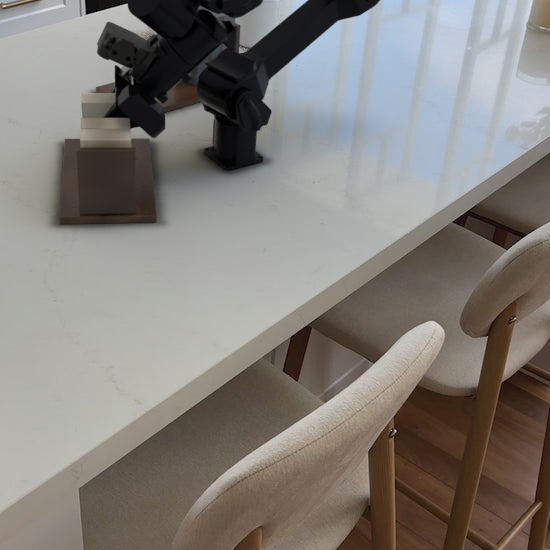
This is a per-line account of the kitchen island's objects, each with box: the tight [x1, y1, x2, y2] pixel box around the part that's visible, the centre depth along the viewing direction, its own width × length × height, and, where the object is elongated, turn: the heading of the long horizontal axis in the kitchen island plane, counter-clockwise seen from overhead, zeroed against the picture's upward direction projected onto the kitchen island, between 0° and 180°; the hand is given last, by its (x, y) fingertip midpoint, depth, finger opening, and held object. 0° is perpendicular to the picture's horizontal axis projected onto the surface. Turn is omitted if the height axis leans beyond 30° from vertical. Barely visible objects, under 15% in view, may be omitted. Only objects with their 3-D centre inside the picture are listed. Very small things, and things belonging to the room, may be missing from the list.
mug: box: [235, 0, 282, 49], centre depth 164 cm, size 12×8×10 cm
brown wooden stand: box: [58, 117, 158, 225], centre depth 117 cm, size 12×21×11 cm, turn 9°
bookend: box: [95, 6, 240, 113], centre depth 142 cm, size 12×22×12 cm, turn 133°
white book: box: [80, 92, 115, 118], centre depth 118 cm, size 6×3×10 cm, turn 99°
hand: (95, 128), depth 118 cm, fingers closed on white book, 3 cm apart
